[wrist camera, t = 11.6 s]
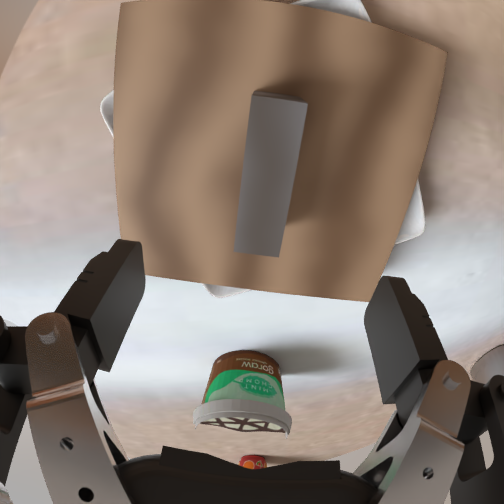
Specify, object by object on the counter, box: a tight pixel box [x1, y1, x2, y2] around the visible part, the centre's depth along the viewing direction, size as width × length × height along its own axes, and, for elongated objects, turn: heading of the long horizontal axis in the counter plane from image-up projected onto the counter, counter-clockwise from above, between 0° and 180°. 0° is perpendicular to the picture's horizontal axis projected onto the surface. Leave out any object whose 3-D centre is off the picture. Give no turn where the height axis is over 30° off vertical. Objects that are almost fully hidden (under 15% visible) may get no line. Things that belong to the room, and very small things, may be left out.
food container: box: [193, 350, 292, 439], centre depth 35 cm, size 12×6×10 cm, turn 81°
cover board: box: [113, 0, 448, 302], centre depth 20 cm, size 23×23×5 cm
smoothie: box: [239, 455, 267, 469], centre depth 56 cm, size 8×8×20 cm
